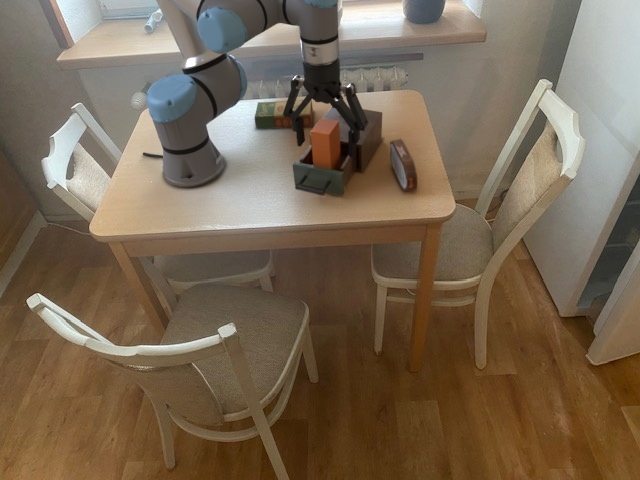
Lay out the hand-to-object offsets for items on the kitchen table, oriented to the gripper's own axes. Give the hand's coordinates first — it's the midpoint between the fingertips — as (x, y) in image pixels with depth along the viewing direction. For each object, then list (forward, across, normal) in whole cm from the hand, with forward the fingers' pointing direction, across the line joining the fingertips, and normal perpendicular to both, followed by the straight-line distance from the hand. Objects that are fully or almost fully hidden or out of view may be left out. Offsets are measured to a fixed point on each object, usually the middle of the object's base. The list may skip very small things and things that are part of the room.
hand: (326, 148), depth 110 cm
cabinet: (+9, 0, +13) cm, 16 cm away
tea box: (+7, 0, 0) cm, 7 cm away
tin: (+9, +17, +6) cm, 20 cm away
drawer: (+8, 0, -1) cm, 8 cm away
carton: (+9, -23, +21) cm, 32 cm away
